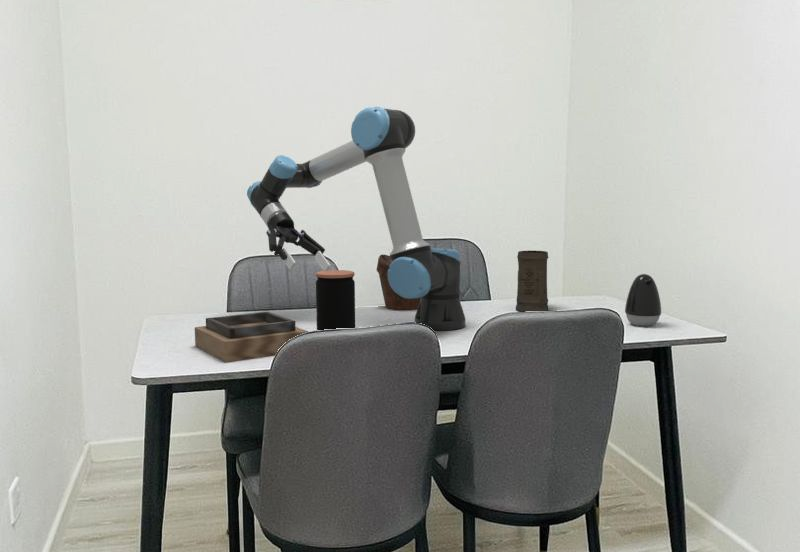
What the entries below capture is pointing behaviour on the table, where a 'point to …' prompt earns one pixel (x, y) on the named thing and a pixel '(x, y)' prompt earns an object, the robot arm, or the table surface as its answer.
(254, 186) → the robot arm
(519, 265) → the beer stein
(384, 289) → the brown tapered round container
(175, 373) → the table surface
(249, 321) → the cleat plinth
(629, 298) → the black rounded piece
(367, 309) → the table surface
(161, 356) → the table surface
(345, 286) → the coffee jar
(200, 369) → the table surface
